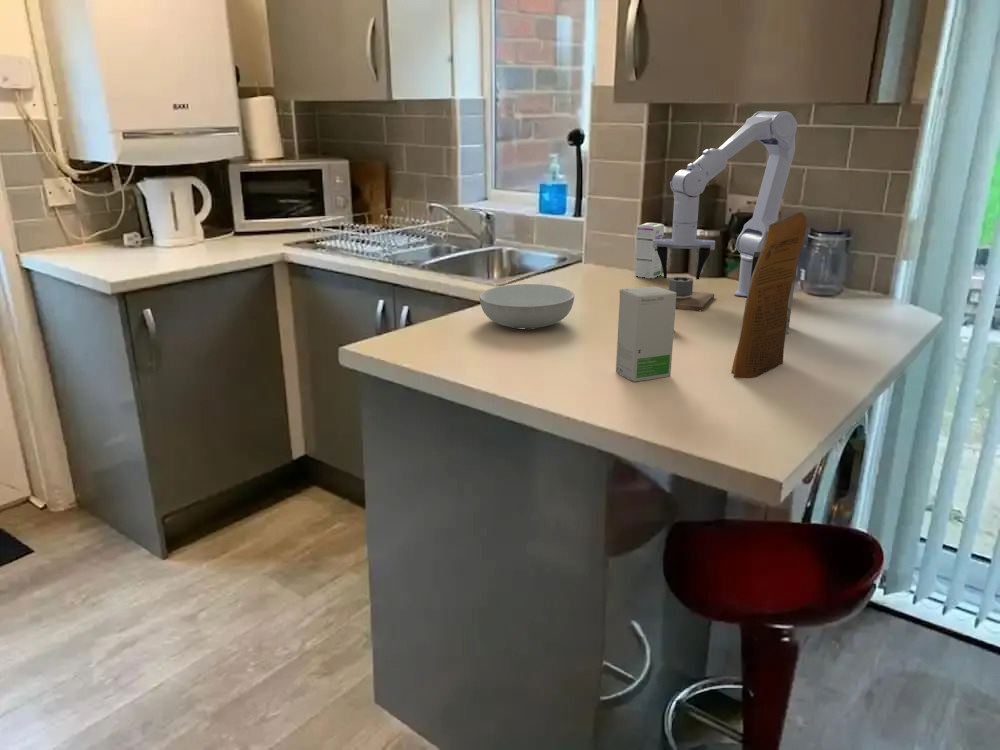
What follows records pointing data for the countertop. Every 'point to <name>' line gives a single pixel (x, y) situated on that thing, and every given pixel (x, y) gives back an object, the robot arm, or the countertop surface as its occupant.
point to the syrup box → (648, 250)
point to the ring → (681, 285)
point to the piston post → (682, 296)
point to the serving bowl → (526, 305)
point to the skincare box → (645, 333)
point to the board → (695, 301)
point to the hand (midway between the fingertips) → (681, 278)
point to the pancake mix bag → (769, 299)
